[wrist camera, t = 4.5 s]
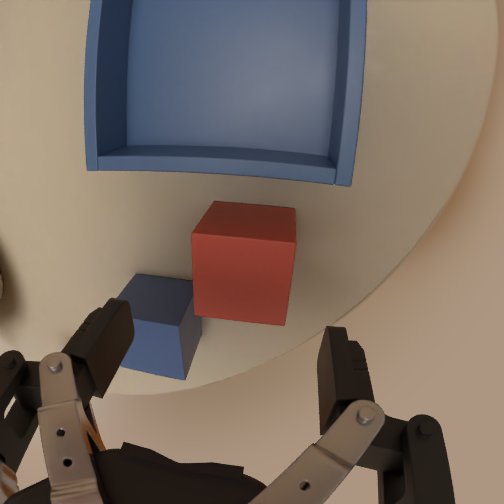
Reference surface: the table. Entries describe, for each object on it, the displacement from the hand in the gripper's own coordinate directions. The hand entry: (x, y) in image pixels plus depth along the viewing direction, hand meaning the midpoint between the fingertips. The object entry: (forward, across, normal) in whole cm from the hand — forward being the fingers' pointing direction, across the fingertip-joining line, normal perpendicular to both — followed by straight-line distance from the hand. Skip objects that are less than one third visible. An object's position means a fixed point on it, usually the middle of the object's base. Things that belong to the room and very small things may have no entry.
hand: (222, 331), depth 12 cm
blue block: (+9, +6, +6) cm, 12 cm away
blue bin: (+9, +2, -12) cm, 15 cm away
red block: (+9, 0, 0) cm, 9 cm away
